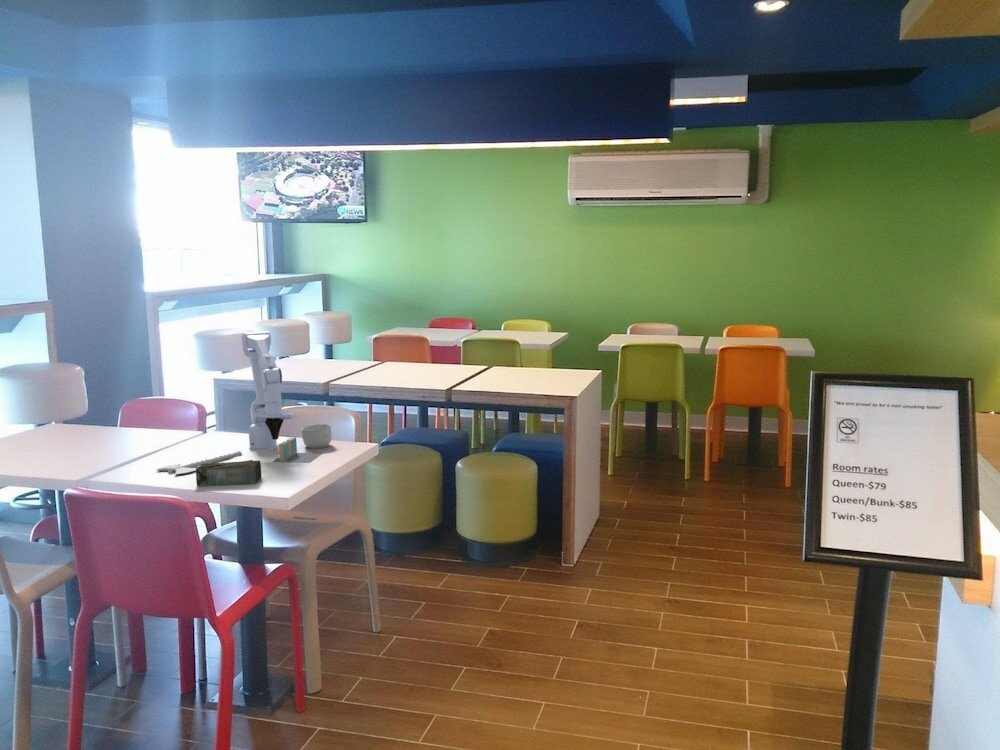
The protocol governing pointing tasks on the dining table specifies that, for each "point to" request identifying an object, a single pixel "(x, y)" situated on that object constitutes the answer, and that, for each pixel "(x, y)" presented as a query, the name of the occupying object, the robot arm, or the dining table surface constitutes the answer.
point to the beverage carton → (228, 473)
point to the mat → (301, 458)
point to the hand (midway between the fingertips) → (275, 439)
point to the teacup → (317, 435)
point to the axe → (196, 464)
